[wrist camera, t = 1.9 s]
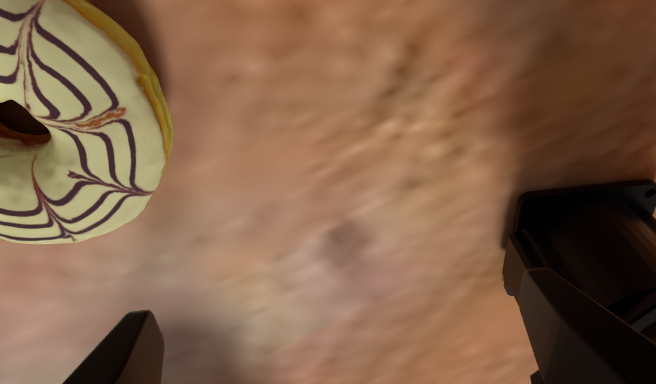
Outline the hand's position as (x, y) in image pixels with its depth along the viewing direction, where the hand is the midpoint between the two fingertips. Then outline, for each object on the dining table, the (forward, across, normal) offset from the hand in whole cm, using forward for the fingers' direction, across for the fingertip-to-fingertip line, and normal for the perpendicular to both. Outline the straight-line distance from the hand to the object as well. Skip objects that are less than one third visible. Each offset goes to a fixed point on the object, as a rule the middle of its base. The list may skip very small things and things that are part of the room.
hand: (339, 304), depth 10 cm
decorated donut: (+12, +11, 0) cm, 17 cm away
